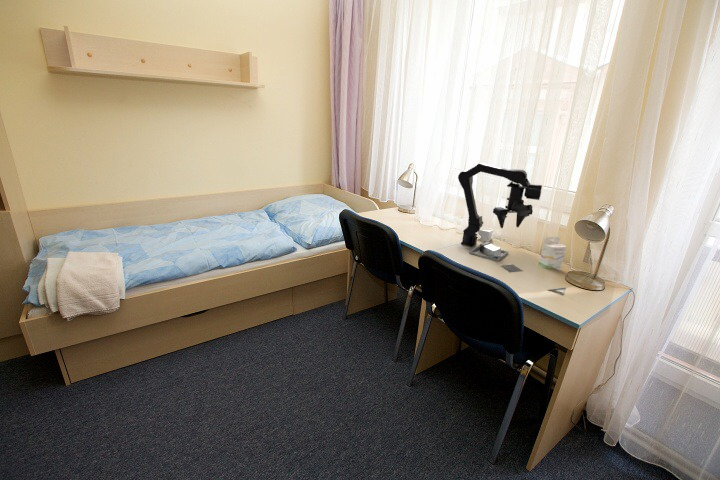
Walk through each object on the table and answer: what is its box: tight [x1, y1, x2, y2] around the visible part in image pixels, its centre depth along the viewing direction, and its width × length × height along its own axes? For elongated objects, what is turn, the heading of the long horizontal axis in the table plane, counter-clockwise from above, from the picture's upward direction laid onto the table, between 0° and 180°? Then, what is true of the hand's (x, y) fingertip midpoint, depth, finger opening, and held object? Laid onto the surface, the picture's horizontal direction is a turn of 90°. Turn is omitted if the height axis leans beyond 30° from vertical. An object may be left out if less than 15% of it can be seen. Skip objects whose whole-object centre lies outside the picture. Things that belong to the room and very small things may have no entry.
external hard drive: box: [547, 287, 567, 296], centre depth 137 cm, size 2×8×12 cm
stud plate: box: [500, 264, 524, 273], centre depth 149 cm, size 7×7×2 cm
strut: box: [479, 241, 502, 259], centre depth 162 cm, size 5×5×10 cm
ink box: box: [538, 236, 568, 271], centre depth 151 cm, size 9×5×15 cm, turn 105°
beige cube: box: [477, 228, 494, 243], centre depth 187 cm, size 6×6×6 cm
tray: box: [468, 244, 509, 263], centre depth 164 cm, size 14×14×2 cm
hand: (509, 227), depth 166 cm, fingers open, 9 cm apart
